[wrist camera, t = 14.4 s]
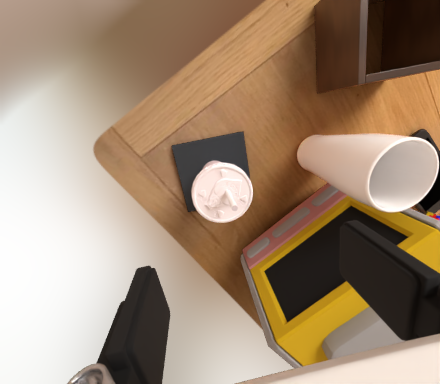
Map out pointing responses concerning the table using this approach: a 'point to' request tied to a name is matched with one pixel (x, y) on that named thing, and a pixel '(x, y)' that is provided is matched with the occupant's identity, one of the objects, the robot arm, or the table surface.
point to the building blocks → (433, 216)
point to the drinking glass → (373, 167)
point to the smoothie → (221, 192)
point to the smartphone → (436, 196)
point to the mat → (208, 158)
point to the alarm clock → (325, 277)
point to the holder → (391, 45)
